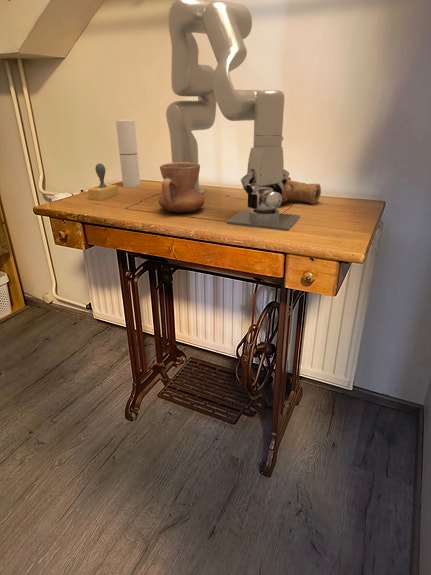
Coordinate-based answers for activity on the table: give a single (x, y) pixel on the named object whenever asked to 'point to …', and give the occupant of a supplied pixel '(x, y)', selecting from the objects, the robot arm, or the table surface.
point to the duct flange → (264, 219)
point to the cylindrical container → (128, 152)
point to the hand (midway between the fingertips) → (264, 205)
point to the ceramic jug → (180, 187)
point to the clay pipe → (300, 191)
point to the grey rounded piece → (267, 200)
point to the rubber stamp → (102, 186)
